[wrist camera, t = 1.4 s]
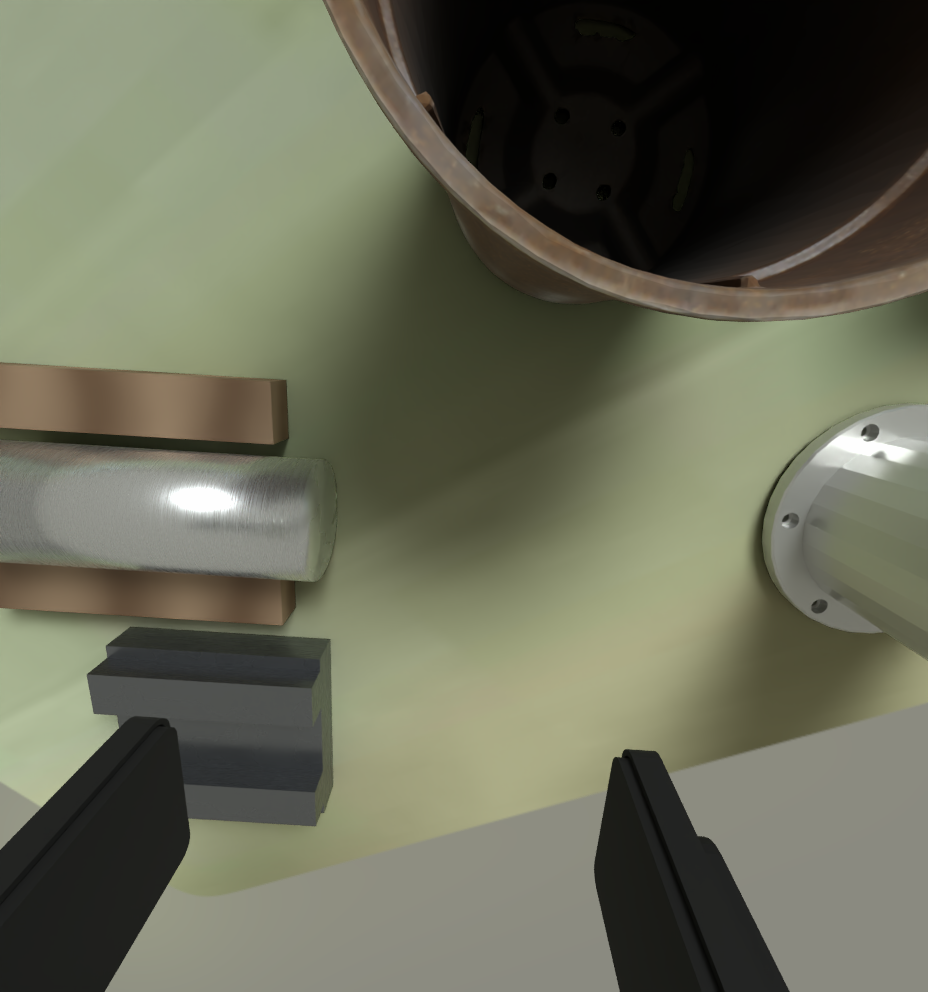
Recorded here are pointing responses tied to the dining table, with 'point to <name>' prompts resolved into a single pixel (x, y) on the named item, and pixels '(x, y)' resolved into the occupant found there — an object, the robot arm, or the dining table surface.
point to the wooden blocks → (150, 413)
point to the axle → (166, 510)
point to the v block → (231, 716)
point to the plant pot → (670, 145)
